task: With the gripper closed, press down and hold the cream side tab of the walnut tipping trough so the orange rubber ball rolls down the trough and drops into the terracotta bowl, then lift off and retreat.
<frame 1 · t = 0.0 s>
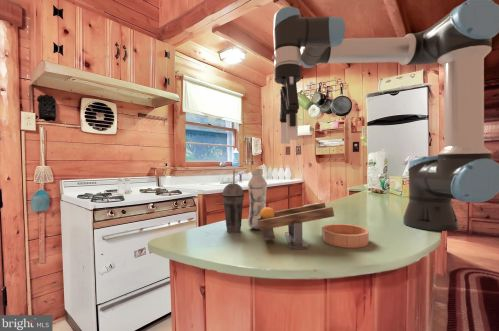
hand: (288, 142, 72), 28 cm above the worktop, fingers open, 13 cm apart
stand: (294, 241, 71), on the worktop
trough: (292, 217, 74), point 6 cm above the worktop, hinge at 10.0°, touching ball
beverage cup: (233, 231, 83), on the worktop
ball: (267, 214, 71), point 8 cm above the worktop, tilted 12°, touching trough
plastic bottle: (258, 229, 85), on the worktop
bowl: (344, 240, 71), on the worktop
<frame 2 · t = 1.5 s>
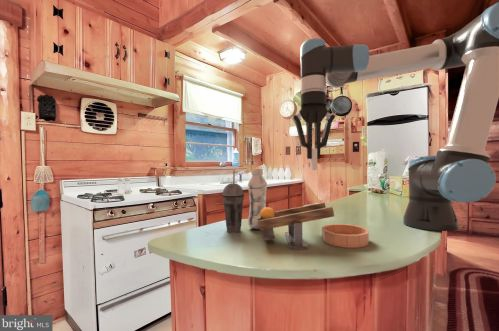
hand: (313, 169, 78), 20 cm above the worktop, fingers closed
nothing on the worktop moved.
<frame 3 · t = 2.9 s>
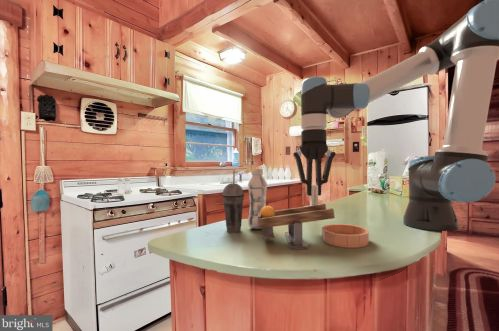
hand: (313, 206, 78), 8 cm above the worktop, fingers closed, pressing on trough
trough: (292, 217, 74), point 6 cm above the worktop, hinge at 7.0°, touching ball, gripper
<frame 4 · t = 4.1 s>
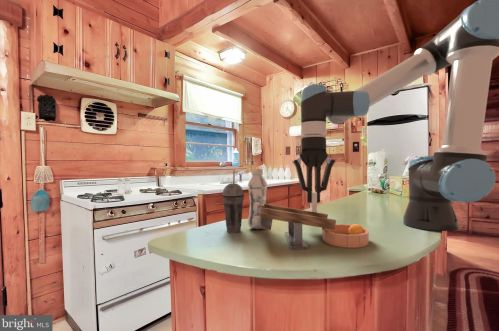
hand: (313, 213, 78), 6 cm above the worktop, fingers closed
trough: (292, 217, 74), point 6 cm above the worktop, hinge at -10.4°, touching gripper
ball: (356, 231, 71), point 3 cm above the worktop, tilted 8°, touching bowl
everything else where it was.
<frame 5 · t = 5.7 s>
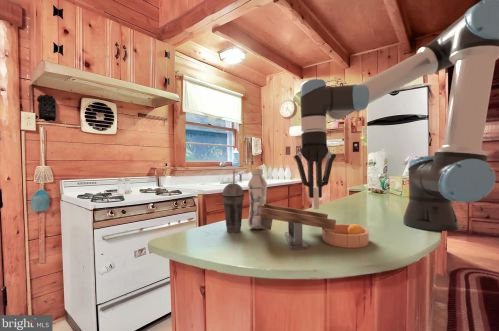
hand: (315, 208, 78), 8 cm above the worktop, fingers closed
trough: (292, 217, 74), point 6 cm above the worktop, hinge at -10.4°
ball: (355, 231, 71), point 3 cm above the worktop, touching bowl
everything else where it was.
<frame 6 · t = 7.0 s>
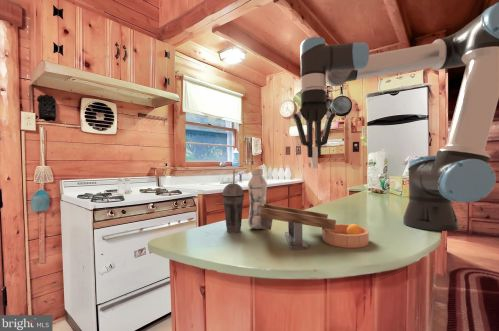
hand: (314, 168, 78), 20 cm above the worktop, fingers closed
ball: (354, 231, 71), point 3 cm above the worktop, tilted 6°, touching bowl
everything else where it was.
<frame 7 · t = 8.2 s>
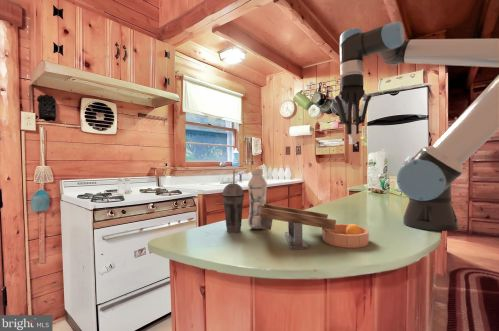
hand: (352, 143, 89), 28 cm above the worktop, fingers closed
ball: (353, 231, 71), point 3 cm above the worktop, tilted 13°, touching bowl
everything else where it was.
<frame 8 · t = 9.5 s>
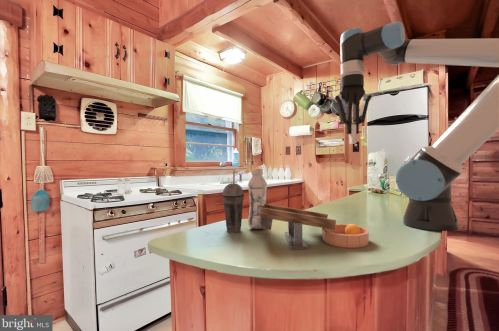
hand: (352, 143, 89), 28 cm above the worktop, fingers closed
ball: (352, 231, 71), point 3 cm above the worktop, tilted 20°, touching bowl
everything else where it was.
at the end: ball inside the target area (2.2 cm from its centre), point 2.6 cm above the worktop; ball touching bowl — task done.
